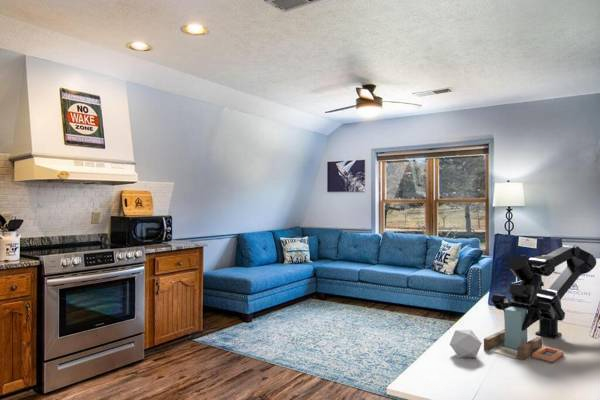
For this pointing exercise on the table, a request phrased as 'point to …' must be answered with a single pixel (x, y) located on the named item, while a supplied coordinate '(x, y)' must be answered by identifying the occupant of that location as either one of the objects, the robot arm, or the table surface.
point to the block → (515, 327)
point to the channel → (521, 352)
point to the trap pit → (548, 354)
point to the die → (465, 343)
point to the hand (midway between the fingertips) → (514, 328)
